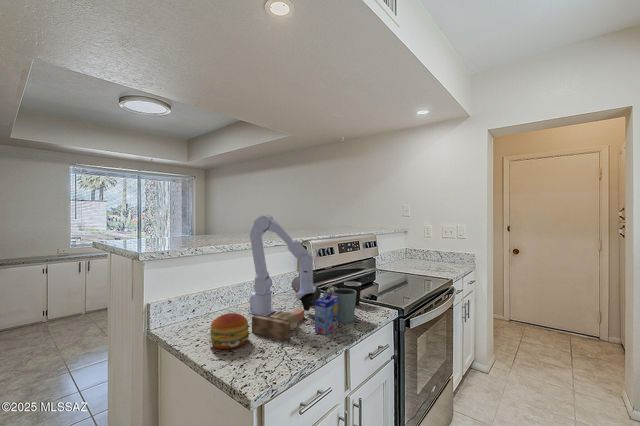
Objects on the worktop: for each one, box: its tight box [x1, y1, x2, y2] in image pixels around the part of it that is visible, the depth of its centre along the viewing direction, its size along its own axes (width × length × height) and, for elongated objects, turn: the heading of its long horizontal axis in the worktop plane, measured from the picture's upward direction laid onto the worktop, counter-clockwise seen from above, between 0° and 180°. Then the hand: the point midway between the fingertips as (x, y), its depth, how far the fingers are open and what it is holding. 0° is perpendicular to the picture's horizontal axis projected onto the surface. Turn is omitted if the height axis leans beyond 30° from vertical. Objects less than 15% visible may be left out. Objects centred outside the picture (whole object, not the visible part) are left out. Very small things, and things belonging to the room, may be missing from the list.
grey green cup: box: [332, 287, 357, 324], centre depth 125 cm, size 10×10×12 cm
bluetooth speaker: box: [291, 275, 322, 303], centre depth 154 cm, size 23×9×10 cm, turn 23°
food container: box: [322, 285, 339, 297], centre depth 135 cm, size 12×6×10 cm, turn 168°
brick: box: [291, 308, 305, 323], centre depth 124 cm, size 3×8×3 cm, turn 152°
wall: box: [251, 314, 291, 342], centre depth 109 cm, size 16×2×6 cm, turn 62°
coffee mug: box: [336, 281, 362, 307], centre depth 146 cm, size 12×9×10 cm
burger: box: [208, 312, 250, 350], centre depth 103 cm, size 13×14×10 cm
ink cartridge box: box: [314, 292, 339, 336], centre depth 114 cm, size 10×6×14 cm, turn 149°
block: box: [269, 310, 298, 331], centre depth 116 cm, size 8×7×5 cm
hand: (306, 310), depth 132 cm, fingers closed
